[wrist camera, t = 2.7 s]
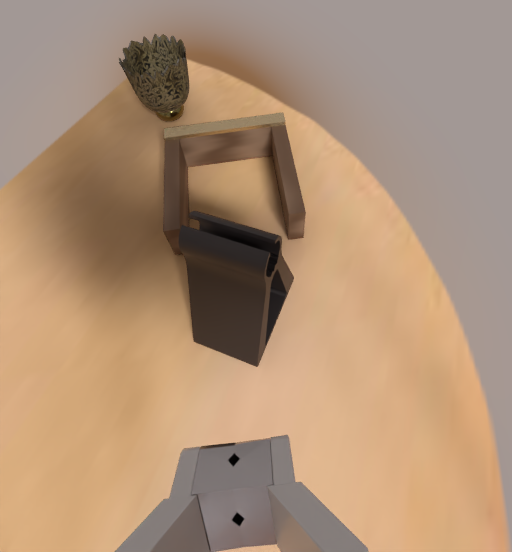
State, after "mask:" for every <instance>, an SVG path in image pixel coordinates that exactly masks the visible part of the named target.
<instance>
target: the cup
mask: <svg viewBox="0 0 512 552" xmlns="http://www.w3.org/2000/svg"><path fill="white" fill-rule="evenodd" d="M123 53H124V55H125V59H124V60H123V62H122V61H121V59H120V58H119V61H120V62H119V63H120V65H121V66H122V68H123V70H124V72H125V74H126V76H127V78H128V80H129V82H130V84H131V85H132V87H133V89H134V91H135V93H136V94H137V96H138V98H139V99H140V100H141V102H142V103H143V104H144V105H145V106H146V107H147V108H149V109H150V110H152V111H155V112H156V115H157V116H158V117H159V118H160V119H161V120H164V121H174V120H177V119H178V118H180V117H181V116H182V114H183V111H184V105H183V104H184V102H185V101H186V99H187V97H188V93H189V77H188V68H187V60H186V53H185V47H184V44H183V42H182V40H179V41H178V42H176V39H175V37H174V36H171V39H170V41H169V40H168V38H167V36H165V35H164V34H163V35H162V36H161V37H158V36H157V35H156V34H155V35H154V37H153V40H152V42H151V43H150V42H149V40H147V39H146V38H145V37H143V43H139V42H135V41H131V42H130V44H129V47H128V48H123Z"/></svg>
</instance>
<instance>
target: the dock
mask: <svg viewBox="0 0 512 552" xmlns="http://www.w3.org/2000/svg"><path fill="white" fill-rule="evenodd" d="M164 139H165V172H164V224H163V231H164V233H165V235H166V237H167V239H168V241H169V243H170V245H171V247H172V249H173V251H174V253H175V255H176V254H182V253H181V251H180V249H179V233H180V229H181V226H182V225H184V226H187V227H189V194H188V167H193V166H200V165H208V164H215V163H222V162H230V161H237V160H245V159H252V158H260V157H267V156H273V161H274V166H275V171H276V177H277V182H278V187H279V192H280V198H281V203H282V208H283V213H284V218H285V224H286V229H287V234H288V239H297V238H303V236H304V224H305V208H304V204H303V199H302V195H301V191H300V186H299V182H298V178H297V173H296V169H295V165H294V160H293V156H292V152H291V147H290V143H289V139H288V134H287V130H286V126H285V118H284V114H283V113H276V114H269V115H261V116H254V117H246V118H239V119H232V120H224V121H217V122H209V123H202V124H194V125H187V126H180V127H172V128H165V129H164Z"/></svg>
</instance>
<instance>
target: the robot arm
mask: <svg viewBox="0 0 512 552" xmlns="http://www.w3.org/2000/svg"><path fill="white" fill-rule="evenodd" d="M273 544H277V546H278V548H279V549H280V551H281V552H368V548H367V547H366V546H365V545H364V544H363V543H362V542H361V541H360V540H359V539H358V538H357V537H356V536H355V535H354V534H353V533H352V532H351V531H350V530H349V529H348V528H347V527H346V526H345V525H344V524H343V523H342V522H341V521H340V520H339V519H338V518H337V517H336V516H335V515H334V514H333V513H332V512H331V511H330V510H329V509H328V508H327V507H326V506H325V505H324V504H323V503H322V502H321V501H320V500H319V499H318V498H317V497H316V496H315V495H314V494H313V493H312V492H311V491H310V490H309V489H308V488H307V487H306V486H305V485H304V484H303V483H302V482H295V476H294V469H293V462H292V455H291V448H290V441H289V437H288V435H284V436H277V437H271V439H270V438H266V439H259V440H252V441H244V442H237V443H228V444H218V445H209V446H201V447H193V448H184V449H183V450H182V452H181V454H180V458H179V462H178V466H177V470H176V474H175V478H174V482H173V485H172V489H171V493H170V497H169V499H163V501H162V502H161V503H160V504H159V505H158V506H157V507H156V508H155V509H154V510H153V511H152V512H151V513H150V514H149V516H148V517H147V518H146V519H145V520H144V521H143V522H142V523H141V524H140V525H139V526H138V527H137V528H136V529H135V531H134V532H133V533H132V534H131V535H130V536H129V537H128V538H127V539H126V540H125V541H124V542H123V543H122V544H121V546H120V547H119V548H118V549H117V550H116V551H115V552H216V551H222V550H228V549H235V548H241V547H251V546H262V545H273Z"/></svg>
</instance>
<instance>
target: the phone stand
mask: <svg viewBox="0 0 512 552" xmlns="http://www.w3.org/2000/svg"><path fill="white" fill-rule="evenodd" d="M189 218H192V219H195V220H198V221H199V222H200V229H199V230H196V229H193V228H190V227H187V226H184V225H182V226H181V229H180V233H179V249H180V251H181V253H182V254H183V255H184V257H185V259H186V263H187V272H188V283H189V294H190V305H191V316H192V327H193V338H194V342H196V343H199V344H201V345H204V346H206V347H209V348H211V349H214V350H216V351H219V352H221V353H224V354H226V355H229V356H231V357H234V358H236V359H239V360H241V361H244V362H246V363H249V364H251V365H254V366H256V367H258V365H259V363H260V360H261V358H262V355H263V353H264V350H265V348H266V346H267V343H268V341H269V338H270V336H271V333H272V331H273V328H274V326H275V324H276V320H277V319H278V316H279V314H280V311H281V309H282V307H283V304H284V302H285V299H286V297H287V294H288V292H289V290H290V287H291V285H292V282H293V279H294V277H293V275H292V273H291V271H290V269H289V267H288V266H287V264H286V262H285V260H284V258H283V256H282V253H281V245H282V238H281V236H279V235H275V234H272V233H269V232H265V231H262V230H258V229H255V228H252V227H248V226H245V225H242V224H238V223H235V222H232V221H228V220H225V219H222V218H218V217H215V216H211V215H208V214H205V213H201V212H198V211H192V212H191V213H189Z"/></svg>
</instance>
